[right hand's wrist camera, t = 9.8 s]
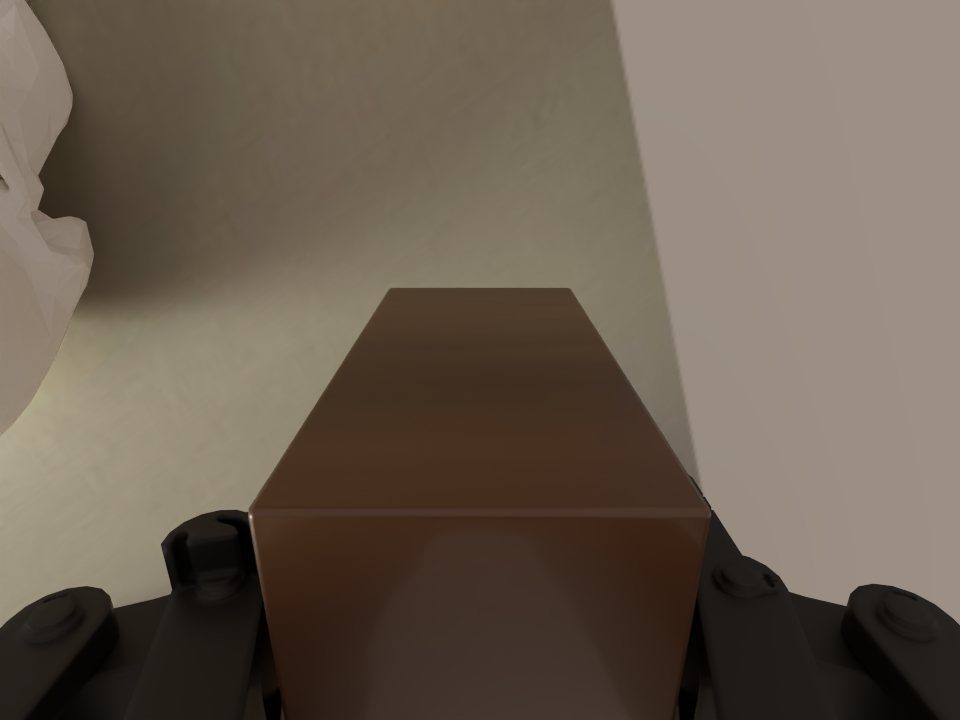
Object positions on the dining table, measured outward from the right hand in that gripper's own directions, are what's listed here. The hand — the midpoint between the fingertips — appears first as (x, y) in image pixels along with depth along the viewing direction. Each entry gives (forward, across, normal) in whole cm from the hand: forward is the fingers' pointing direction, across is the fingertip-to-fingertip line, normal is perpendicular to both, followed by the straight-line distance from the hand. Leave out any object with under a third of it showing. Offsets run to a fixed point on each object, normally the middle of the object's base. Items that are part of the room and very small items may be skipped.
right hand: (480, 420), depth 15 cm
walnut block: (0, 0, +8) cm, 9 cm away
